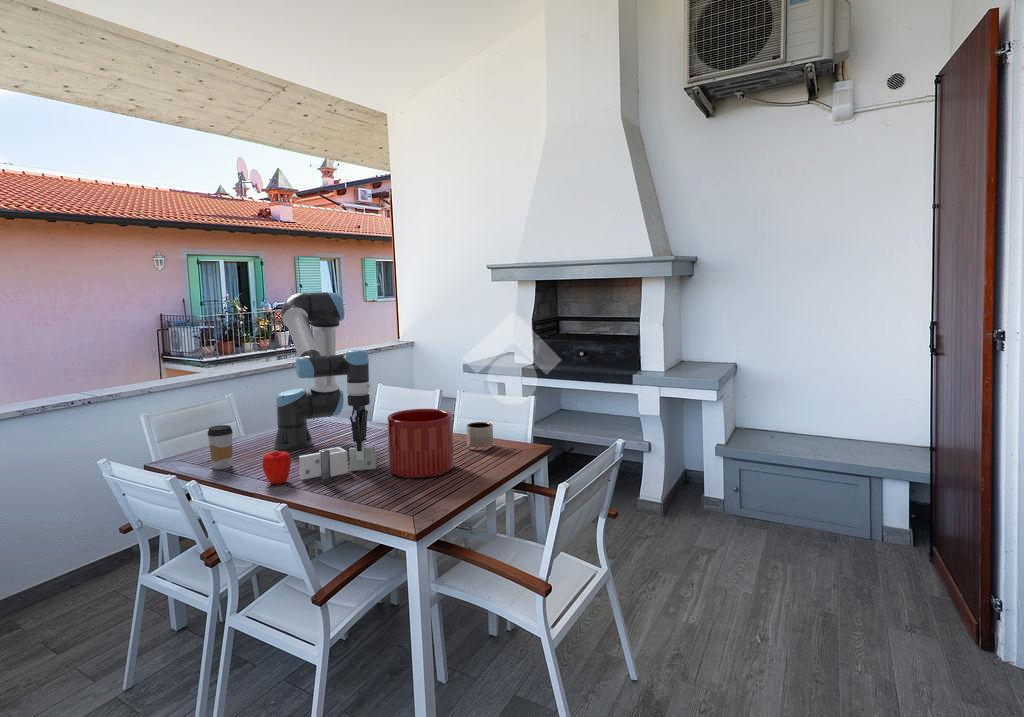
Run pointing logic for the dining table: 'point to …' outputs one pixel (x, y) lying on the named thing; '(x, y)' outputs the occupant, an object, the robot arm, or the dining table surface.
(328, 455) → the pin
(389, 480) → the dining table surface
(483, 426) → the planter
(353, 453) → the loose leaf
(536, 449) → the dining table surface
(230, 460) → the coffee cup
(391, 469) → the planter
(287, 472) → the apple
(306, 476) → the fixed hinge
